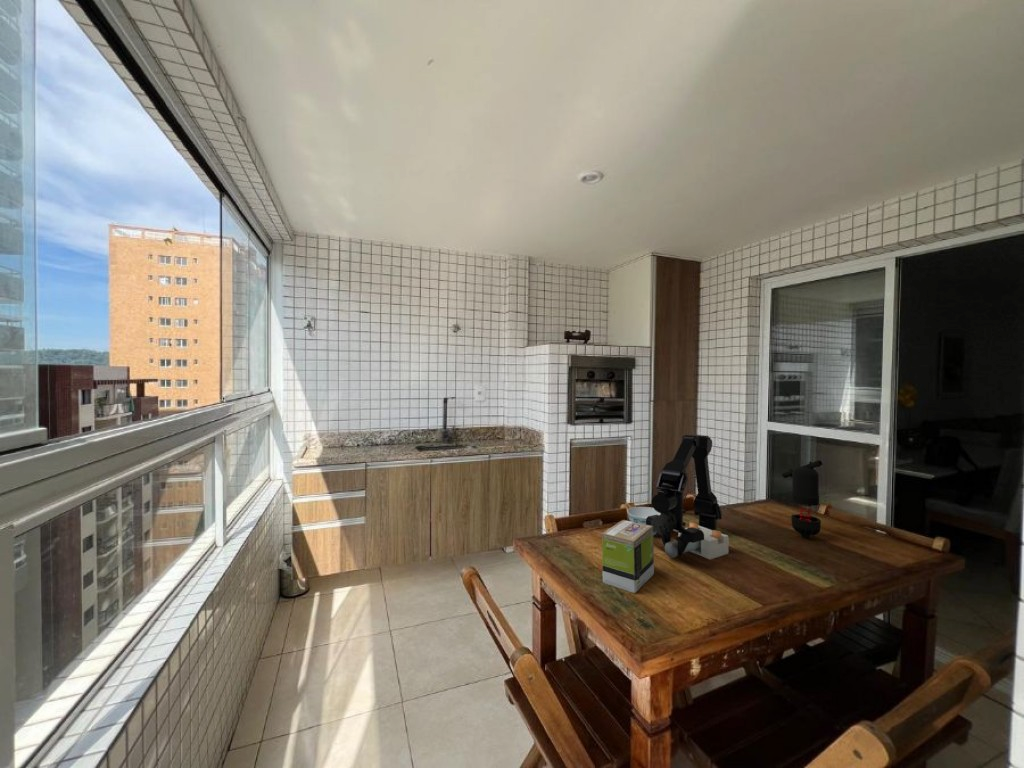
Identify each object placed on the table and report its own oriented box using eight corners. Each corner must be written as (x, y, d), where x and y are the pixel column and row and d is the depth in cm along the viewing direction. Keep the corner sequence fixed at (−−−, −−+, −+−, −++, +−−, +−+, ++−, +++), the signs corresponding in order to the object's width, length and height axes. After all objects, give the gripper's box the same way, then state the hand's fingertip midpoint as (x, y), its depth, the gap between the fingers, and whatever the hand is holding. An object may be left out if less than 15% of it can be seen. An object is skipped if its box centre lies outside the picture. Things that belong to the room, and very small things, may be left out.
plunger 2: (715, 536, 136) (715, 529, 136) (723, 539, 133) (723, 532, 133) (710, 538, 134) (710, 530, 135) (717, 541, 132) (717, 533, 132)
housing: (696, 541, 145) (696, 524, 145) (728, 553, 134) (728, 535, 134) (678, 546, 140) (678, 529, 140) (709, 559, 130) (709, 541, 130)
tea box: (623, 565, 125) (623, 518, 125) (654, 574, 119) (655, 525, 119) (601, 583, 114) (601, 531, 114) (635, 595, 107) (635, 540, 108)
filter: (829, 541, 146) (829, 459, 146) (815, 545, 142) (815, 461, 142) (789, 529, 158) (789, 454, 158) (776, 533, 154) (776, 455, 154)
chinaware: (661, 543, 143) (661, 521, 143) (621, 533, 152) (621, 513, 152) (672, 531, 155) (673, 511, 155) (635, 523, 164) (635, 504, 164)
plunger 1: (692, 528, 144) (692, 521, 144) (699, 531, 141) (699, 524, 141) (687, 530, 142) (687, 523, 142) (694, 532, 140) (694, 525, 140)
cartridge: (695, 545, 139) (695, 532, 139) (707, 550, 135) (707, 536, 135) (664, 554, 131) (664, 540, 131) (676, 559, 127) (676, 545, 127)
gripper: (634, 502, 134) (634, 548, 134) (681, 518, 118) (681, 570, 118) (657, 497, 140) (657, 542, 140) (705, 512, 123) (705, 563, 123)
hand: (673, 553), depth 130 cm, fingers closed on cartridge, 5 cm apart
